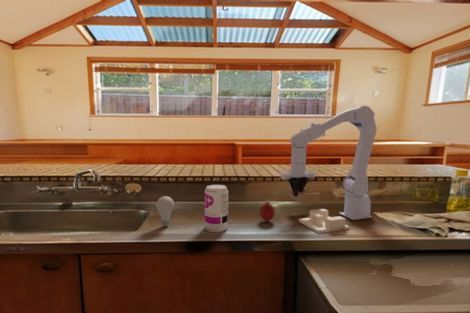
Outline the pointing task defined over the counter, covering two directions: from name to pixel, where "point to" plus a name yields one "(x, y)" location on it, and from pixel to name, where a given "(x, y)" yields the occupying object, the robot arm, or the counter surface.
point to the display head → (324, 221)
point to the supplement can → (216, 208)
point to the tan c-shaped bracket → (305, 196)
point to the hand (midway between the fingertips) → (297, 195)
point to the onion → (267, 211)
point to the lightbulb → (165, 209)
